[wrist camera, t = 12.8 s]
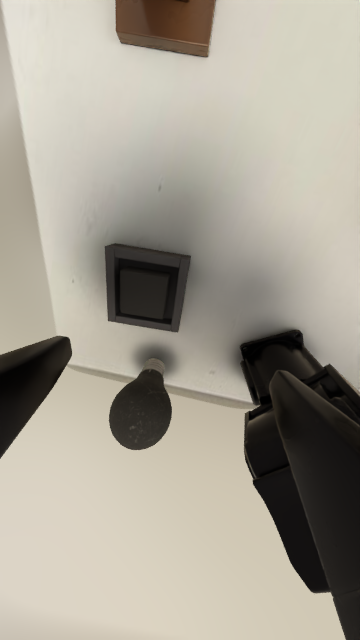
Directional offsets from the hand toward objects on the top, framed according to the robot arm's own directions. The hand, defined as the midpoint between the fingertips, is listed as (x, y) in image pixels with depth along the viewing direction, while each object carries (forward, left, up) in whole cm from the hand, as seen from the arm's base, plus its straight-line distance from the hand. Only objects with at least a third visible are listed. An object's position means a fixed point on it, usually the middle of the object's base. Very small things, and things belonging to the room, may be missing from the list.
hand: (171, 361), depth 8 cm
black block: (+4, -1, -11) cm, 11 cm away
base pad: (+4, -1, -12) cm, 12 cm away
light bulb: (+7, +8, -12) cm, 16 cm away
